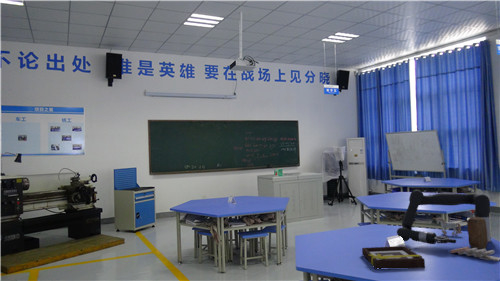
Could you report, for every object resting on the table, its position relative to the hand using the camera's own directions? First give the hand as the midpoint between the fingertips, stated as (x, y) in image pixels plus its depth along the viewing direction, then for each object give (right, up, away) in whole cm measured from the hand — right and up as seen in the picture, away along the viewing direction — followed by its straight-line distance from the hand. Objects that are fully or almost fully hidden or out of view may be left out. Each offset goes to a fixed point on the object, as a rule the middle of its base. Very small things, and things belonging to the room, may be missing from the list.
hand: (455, 241), depth 230 cm
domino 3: (+7, -6, -10) cm, 13 cm away
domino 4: (+9, -6, -10) cm, 15 cm away
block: (+20, -7, +9) cm, 23 cm away
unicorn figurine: (+19, -8, +43) cm, 48 cm away
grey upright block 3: (+5, -6, -6) cm, 10 cm away
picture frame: (-45, -10, -9) cm, 47 cm away
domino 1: (-1, -7, +2) cm, 7 cm away
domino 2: (+2, -7, -2) cm, 7 cm away
